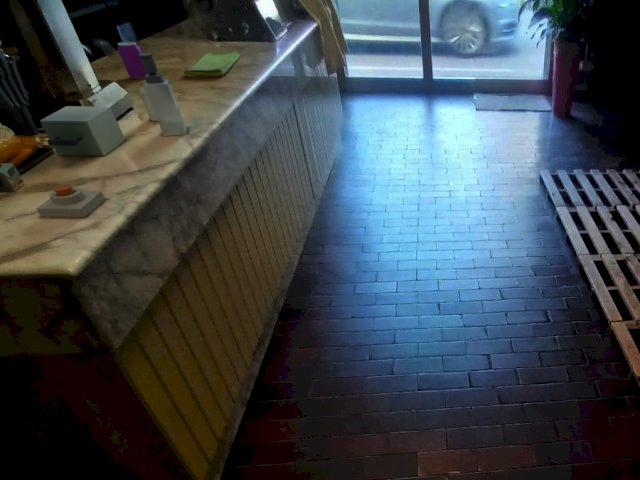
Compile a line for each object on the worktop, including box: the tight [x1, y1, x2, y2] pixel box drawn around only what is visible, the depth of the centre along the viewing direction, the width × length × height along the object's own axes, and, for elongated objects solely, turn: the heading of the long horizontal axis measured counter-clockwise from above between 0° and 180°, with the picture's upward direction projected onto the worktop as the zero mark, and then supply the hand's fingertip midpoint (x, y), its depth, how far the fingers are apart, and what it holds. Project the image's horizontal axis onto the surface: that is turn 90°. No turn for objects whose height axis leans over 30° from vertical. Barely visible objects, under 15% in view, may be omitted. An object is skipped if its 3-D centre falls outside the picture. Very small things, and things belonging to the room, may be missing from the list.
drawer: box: [41, 124, 100, 155], centre depth 151 cm, size 17×11×8 cm
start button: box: [53, 183, 75, 196], centre depth 125 cm, size 4×4×2 cm
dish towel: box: [183, 50, 240, 78], centre depth 228 cm, size 15×36×3 cm, turn 10°
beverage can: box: [117, 41, 148, 80], centre depth 209 cm, size 8×8×12 cm
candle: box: [138, 85, 158, 122], centre depth 174 cm, size 6×6×10 cm
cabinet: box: [39, 105, 126, 157], centre depth 153 cm, size 14×13×10 cm
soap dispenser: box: [139, 52, 187, 137], centre depth 162 cm, size 6×9×22 cm
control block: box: [36, 186, 106, 218], centre depth 126 cm, size 10×10×4 cm
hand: (32, 133), depth 135 cm, fingers closed
